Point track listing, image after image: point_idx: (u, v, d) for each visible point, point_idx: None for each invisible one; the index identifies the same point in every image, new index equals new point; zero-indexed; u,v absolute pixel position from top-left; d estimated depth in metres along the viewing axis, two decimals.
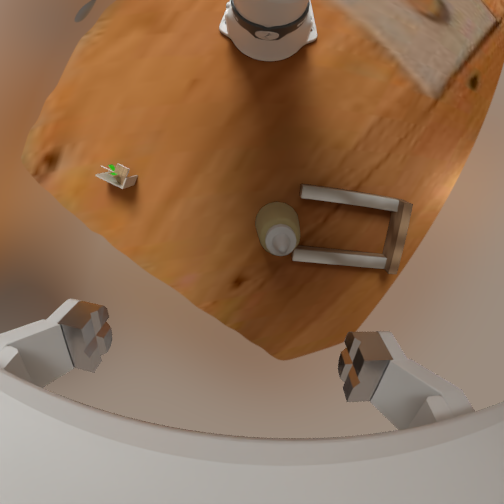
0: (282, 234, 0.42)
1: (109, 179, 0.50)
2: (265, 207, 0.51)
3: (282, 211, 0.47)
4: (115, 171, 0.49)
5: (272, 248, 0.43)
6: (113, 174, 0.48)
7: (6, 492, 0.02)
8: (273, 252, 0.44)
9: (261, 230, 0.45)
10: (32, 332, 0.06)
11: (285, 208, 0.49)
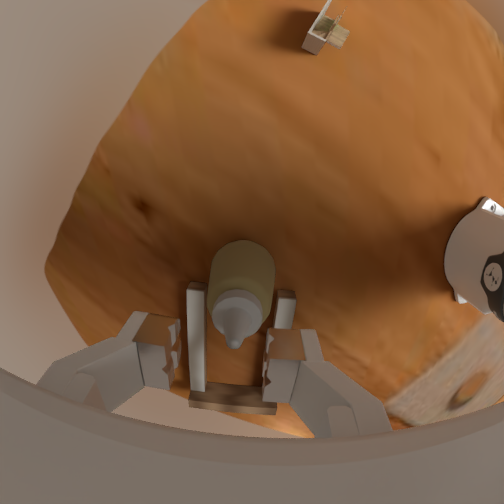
0: (250, 323, 0.26)
1: (322, 14, 0.24)
2: (269, 258, 0.34)
3: None
4: (337, 27, 0.24)
5: (224, 307, 0.26)
6: None
7: (6, 492, 0.02)
8: (217, 308, 0.26)
9: (248, 278, 0.27)
10: (105, 353, 0.06)
11: None
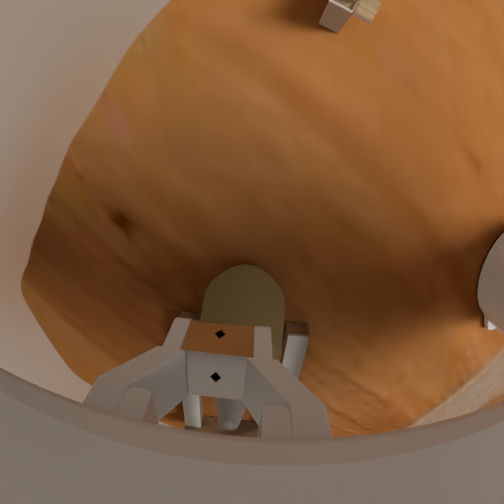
0: None
1: None
2: (278, 291, 0.26)
3: None
4: None
5: None
6: None
7: (6, 492, 0.02)
8: None
9: None
10: (155, 364, 0.06)
11: None
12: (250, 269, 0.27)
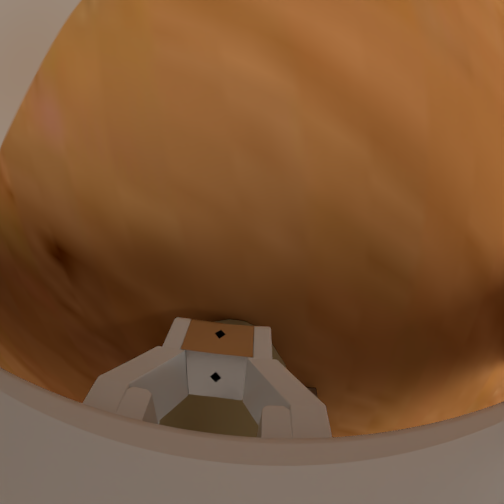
0: None
1: None
2: None
3: None
4: None
5: None
6: None
7: (6, 492, 0.02)
8: None
9: None
10: (155, 364, 0.06)
11: None
12: None
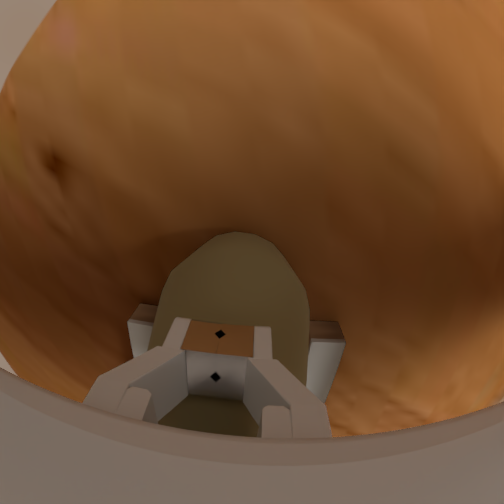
0: None
1: None
2: (298, 299, 0.13)
3: None
4: None
5: None
6: None
7: (6, 492, 0.02)
8: None
9: None
10: (154, 364, 0.06)
11: None
12: (242, 254, 0.13)
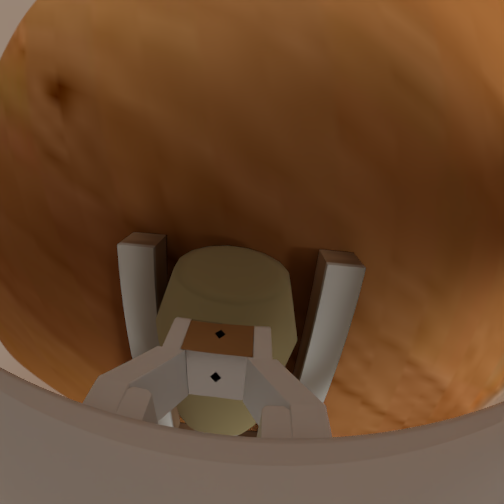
0: None
1: None
2: None
3: None
4: None
5: None
6: None
7: (6, 492, 0.02)
8: None
9: None
10: (155, 364, 0.06)
11: None
12: None
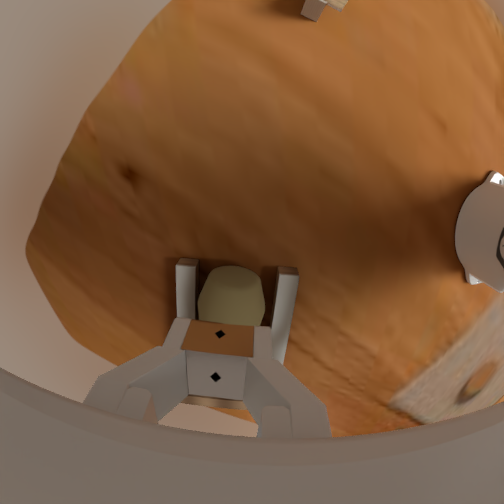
0: None
1: None
2: None
3: None
4: None
5: None
6: None
7: (6, 492, 0.02)
8: None
9: None
10: (155, 364, 0.06)
11: None
12: None
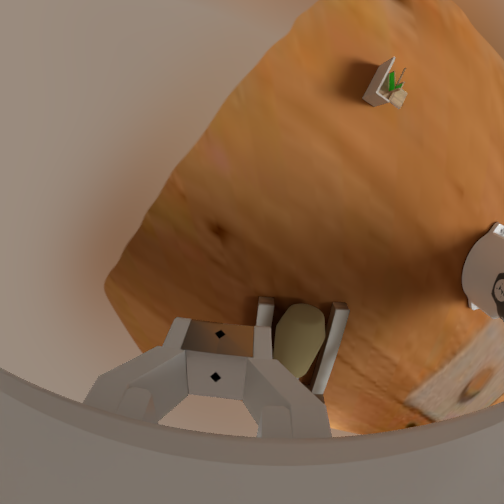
0: None
1: None
2: (318, 349, 0.43)
3: None
4: None
5: None
6: (399, 87, 0.29)
7: (6, 492, 0.02)
8: None
9: None
10: (155, 364, 0.06)
11: None
12: (303, 348, 0.41)
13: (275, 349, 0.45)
